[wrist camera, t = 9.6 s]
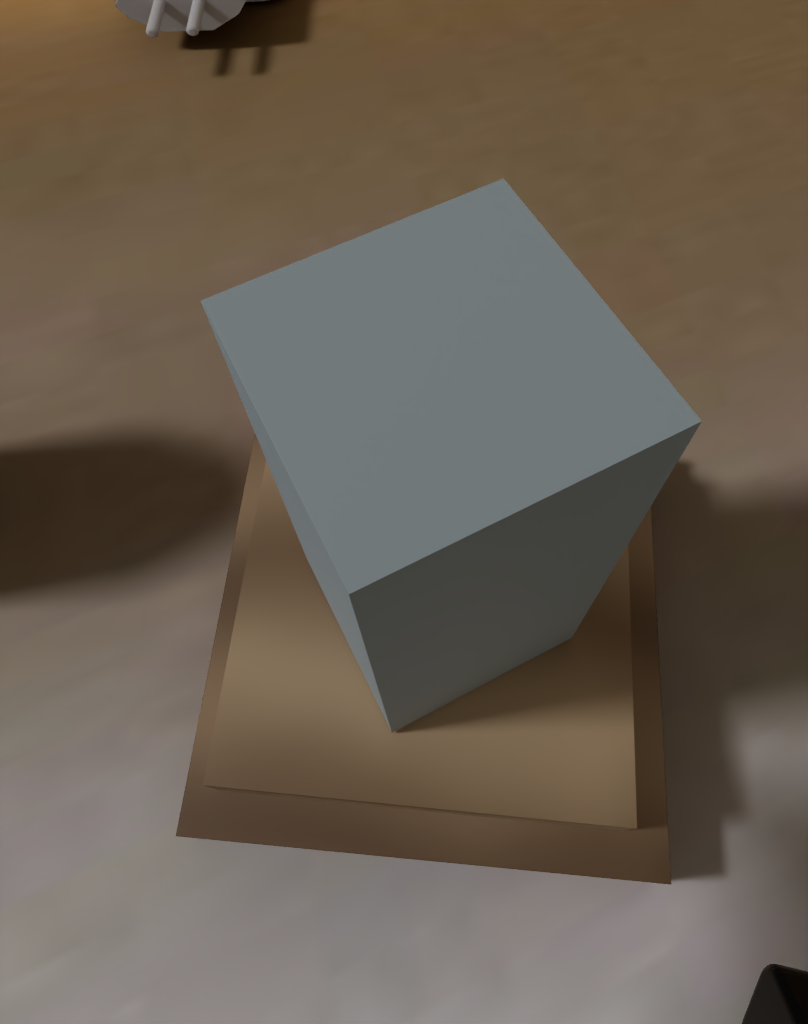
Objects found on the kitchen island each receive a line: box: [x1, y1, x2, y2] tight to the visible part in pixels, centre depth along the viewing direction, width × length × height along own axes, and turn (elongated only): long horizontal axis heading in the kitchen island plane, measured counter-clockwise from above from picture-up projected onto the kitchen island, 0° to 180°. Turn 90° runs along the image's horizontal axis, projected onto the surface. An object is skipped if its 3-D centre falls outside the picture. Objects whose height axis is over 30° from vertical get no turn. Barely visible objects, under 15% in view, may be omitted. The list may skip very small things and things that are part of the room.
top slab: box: [203, 461, 637, 831], centre depth 20 cm, size 10×10×2 cm
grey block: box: [201, 178, 702, 733], centre depth 15 cm, size 5×5×10 cm
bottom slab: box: [176, 434, 671, 884], centre depth 22 cm, size 12×12×2 cm
